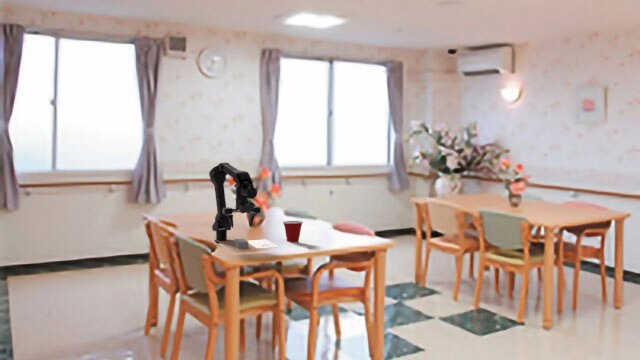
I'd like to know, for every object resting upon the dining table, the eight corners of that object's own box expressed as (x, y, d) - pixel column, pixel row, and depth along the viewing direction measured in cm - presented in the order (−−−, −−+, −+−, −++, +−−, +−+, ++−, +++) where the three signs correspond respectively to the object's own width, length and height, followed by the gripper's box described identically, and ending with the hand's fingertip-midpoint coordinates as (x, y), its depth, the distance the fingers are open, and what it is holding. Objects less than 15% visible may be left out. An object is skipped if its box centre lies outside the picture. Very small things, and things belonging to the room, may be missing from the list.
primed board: (245, 242, 312) (245, 240, 312) (266, 241, 317) (266, 239, 317) (256, 250, 294) (256, 248, 294) (279, 249, 299) (279, 246, 299)
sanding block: (234, 247, 301) (234, 239, 300) (243, 247, 303) (243, 238, 302) (238, 251, 293) (238, 242, 293) (248, 250, 295) (248, 241, 295)
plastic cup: (297, 240, 322) (297, 218, 321) (306, 244, 313) (306, 221, 312) (279, 241, 317) (279, 219, 316) (287, 245, 308) (288, 223, 306)
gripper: (227, 199, 284) (227, 231, 286) (264, 197, 292) (264, 228, 293) (221, 196, 295) (221, 227, 296) (257, 195, 302) (257, 225, 304)
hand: (241, 227), depth 297 cm, fingers open, 9 cm apart
